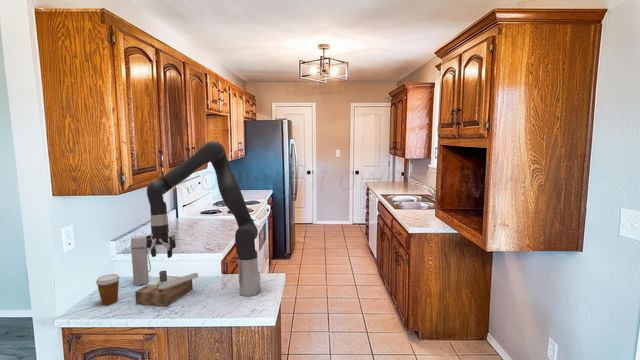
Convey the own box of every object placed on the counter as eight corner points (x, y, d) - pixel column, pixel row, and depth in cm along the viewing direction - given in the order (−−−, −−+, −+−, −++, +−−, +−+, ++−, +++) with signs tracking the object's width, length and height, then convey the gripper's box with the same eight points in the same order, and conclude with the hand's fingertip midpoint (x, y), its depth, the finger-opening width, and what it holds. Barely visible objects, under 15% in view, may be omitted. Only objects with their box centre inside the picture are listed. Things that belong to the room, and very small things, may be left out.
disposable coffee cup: (94, 308, 161) (92, 282, 160) (101, 299, 170) (99, 275, 169) (118, 305, 164) (116, 279, 163) (123, 296, 173) (121, 272, 172)
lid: (179, 280, 176) (178, 268, 175) (165, 288, 166) (165, 275, 165) (161, 279, 178) (160, 267, 178) (147, 287, 168) (146, 274, 168)
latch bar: (198, 277, 174) (198, 272, 174) (158, 289, 160) (158, 284, 160) (195, 276, 176) (195, 271, 176) (156, 288, 162) (156, 283, 162)
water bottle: (138, 287, 185) (135, 239, 182) (130, 284, 189) (126, 237, 187) (155, 281, 192) (152, 235, 190) (147, 278, 197) (143, 233, 194)
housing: (192, 289, 180) (191, 274, 179) (166, 307, 160) (165, 290, 160) (165, 287, 184) (164, 273, 183) (136, 304, 164) (134, 288, 164)
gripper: (177, 222, 171) (179, 255, 173) (152, 221, 175) (154, 254, 176) (167, 225, 164) (169, 260, 166) (140, 224, 167) (143, 258, 169)
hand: (161, 257), depth 171 cm, fingers open, 8 cm apart
